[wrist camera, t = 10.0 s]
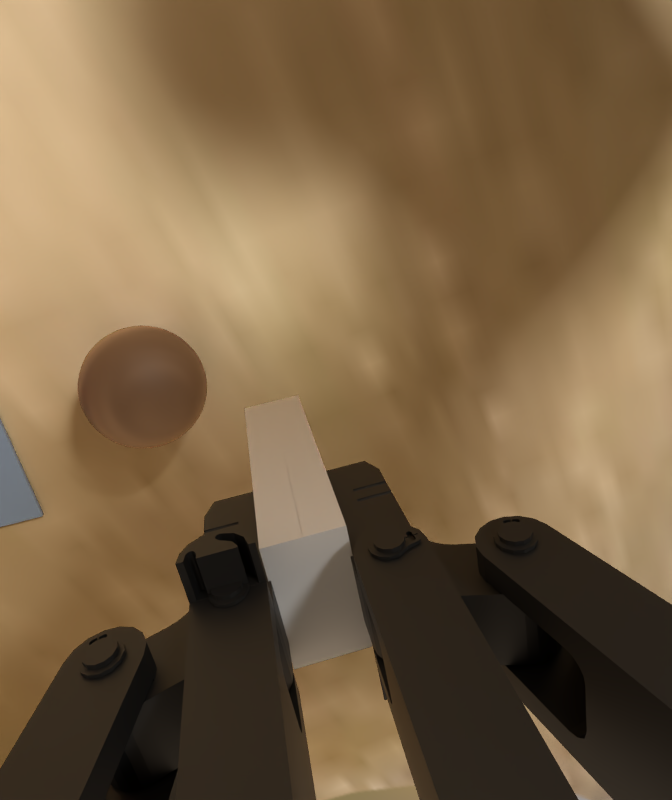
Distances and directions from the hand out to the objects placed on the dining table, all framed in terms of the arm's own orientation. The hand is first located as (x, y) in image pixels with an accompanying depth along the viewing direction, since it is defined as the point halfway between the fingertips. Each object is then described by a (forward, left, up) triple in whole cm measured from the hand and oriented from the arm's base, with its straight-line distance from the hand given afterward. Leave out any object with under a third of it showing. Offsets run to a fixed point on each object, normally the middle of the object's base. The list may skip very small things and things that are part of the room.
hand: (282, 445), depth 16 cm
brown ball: (+1, -5, -11) cm, 12 cm away
